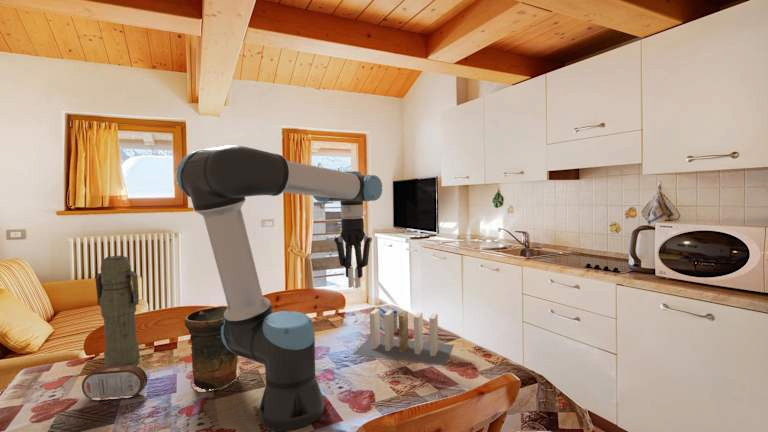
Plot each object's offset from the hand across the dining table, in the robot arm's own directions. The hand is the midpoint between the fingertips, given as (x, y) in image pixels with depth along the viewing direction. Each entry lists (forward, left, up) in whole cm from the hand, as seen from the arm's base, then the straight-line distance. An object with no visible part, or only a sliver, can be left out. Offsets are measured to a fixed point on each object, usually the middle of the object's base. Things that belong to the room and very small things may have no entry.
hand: (354, 286), depth 134 cm
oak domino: (0, -17, -20) cm, 26 cm away
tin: (-50, +48, -21) cm, 72 cm away
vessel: (-34, +29, -21) cm, 49 cm away
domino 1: (0, -7, -20) cm, 21 cm away
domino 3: (0, -22, -20) cm, 30 cm away
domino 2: (0, -12, -20) cm, 23 cm away
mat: (0, -17, -20) cm, 27 cm away
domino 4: (0, -27, -20) cm, 34 cm away
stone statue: (-36, +63, -21) cm, 75 cm away
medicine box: (+16, -6, -21) cm, 27 cm away
